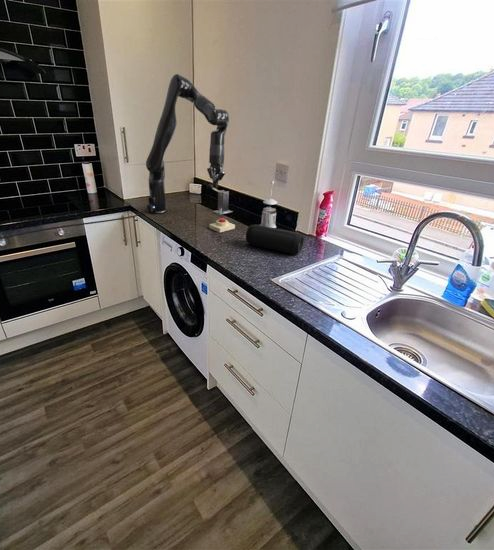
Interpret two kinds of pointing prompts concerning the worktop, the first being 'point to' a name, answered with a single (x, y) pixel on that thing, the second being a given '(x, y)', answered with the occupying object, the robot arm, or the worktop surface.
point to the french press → (269, 213)
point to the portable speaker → (275, 239)
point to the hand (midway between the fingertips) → (215, 188)
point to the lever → (214, 189)
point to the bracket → (223, 203)
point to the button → (222, 220)
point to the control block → (221, 226)
